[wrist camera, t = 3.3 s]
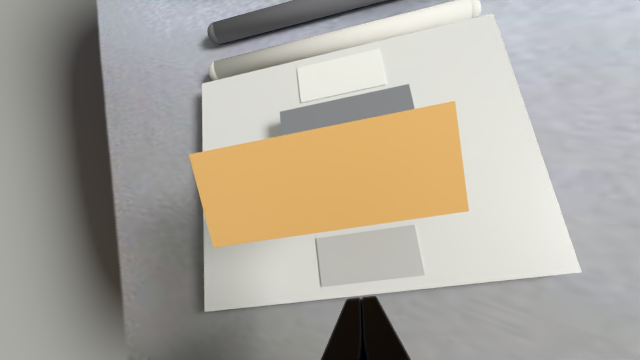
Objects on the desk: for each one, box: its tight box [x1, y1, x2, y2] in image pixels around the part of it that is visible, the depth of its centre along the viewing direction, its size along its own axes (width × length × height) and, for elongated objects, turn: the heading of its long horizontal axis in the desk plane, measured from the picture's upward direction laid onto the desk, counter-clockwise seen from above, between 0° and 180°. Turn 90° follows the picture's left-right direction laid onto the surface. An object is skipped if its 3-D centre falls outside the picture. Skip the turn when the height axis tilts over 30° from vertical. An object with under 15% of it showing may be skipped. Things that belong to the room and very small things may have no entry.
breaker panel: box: [202, 13, 581, 312], centre depth 17 cm, size 14×18×2 cm
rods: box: [208, 0, 481, 81], centre depth 20 cm, size 17×5×1 cm, turn 97°
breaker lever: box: [189, 101, 469, 248], centre depth 10 cm, size 2×5×10 cm, turn 97°
